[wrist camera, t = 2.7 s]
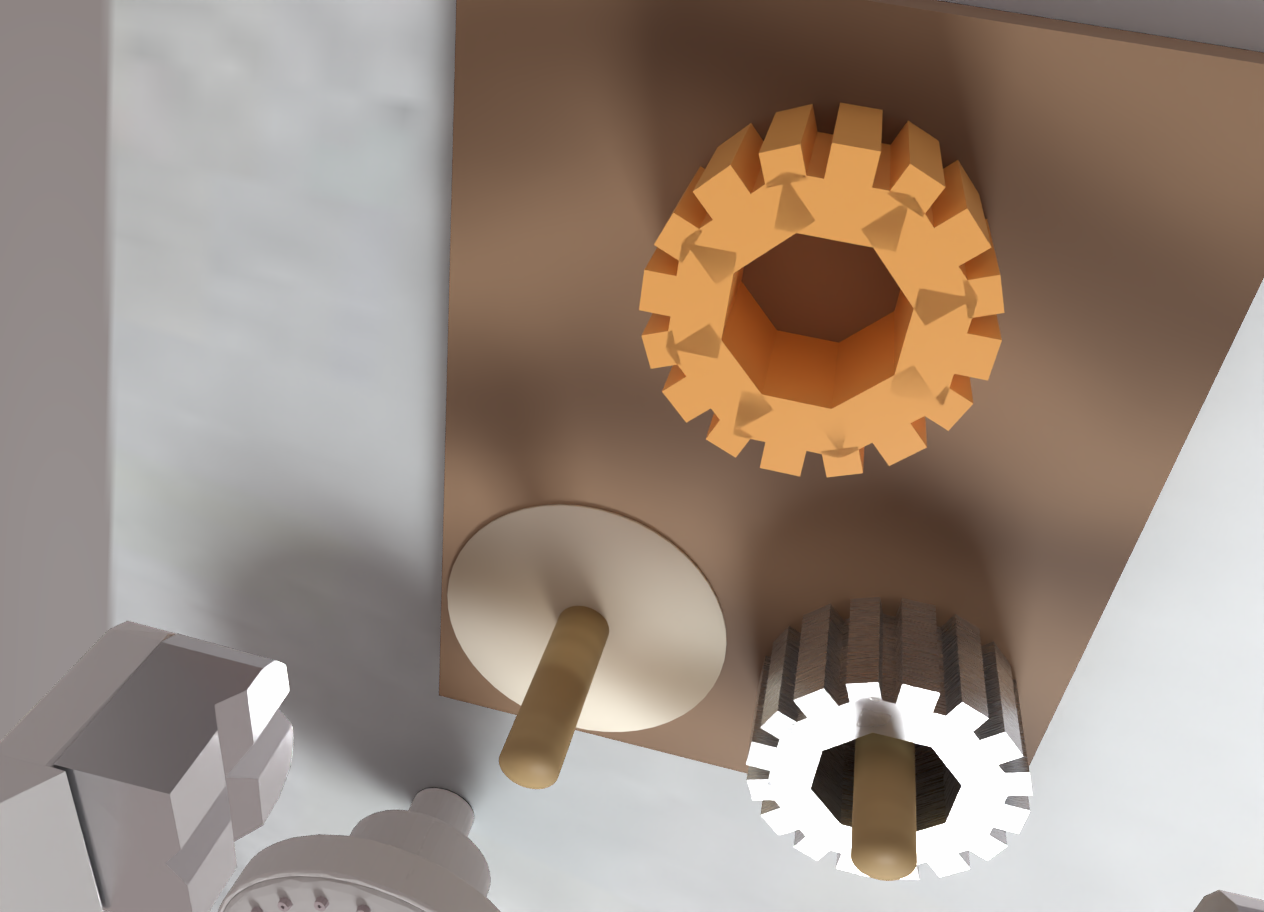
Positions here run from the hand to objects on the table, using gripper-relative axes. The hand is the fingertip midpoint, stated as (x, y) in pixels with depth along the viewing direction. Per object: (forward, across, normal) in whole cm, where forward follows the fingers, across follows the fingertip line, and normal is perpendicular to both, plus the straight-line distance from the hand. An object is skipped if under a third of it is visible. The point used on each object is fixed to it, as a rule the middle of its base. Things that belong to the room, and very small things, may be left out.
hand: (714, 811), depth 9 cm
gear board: (+16, 0, +5) cm, 16 cm away
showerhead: (+16, +8, +22) cm, 28 cm away
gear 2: (+14, -4, +11) cm, 19 cm away
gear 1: (+14, 0, 0) cm, 14 cm away
